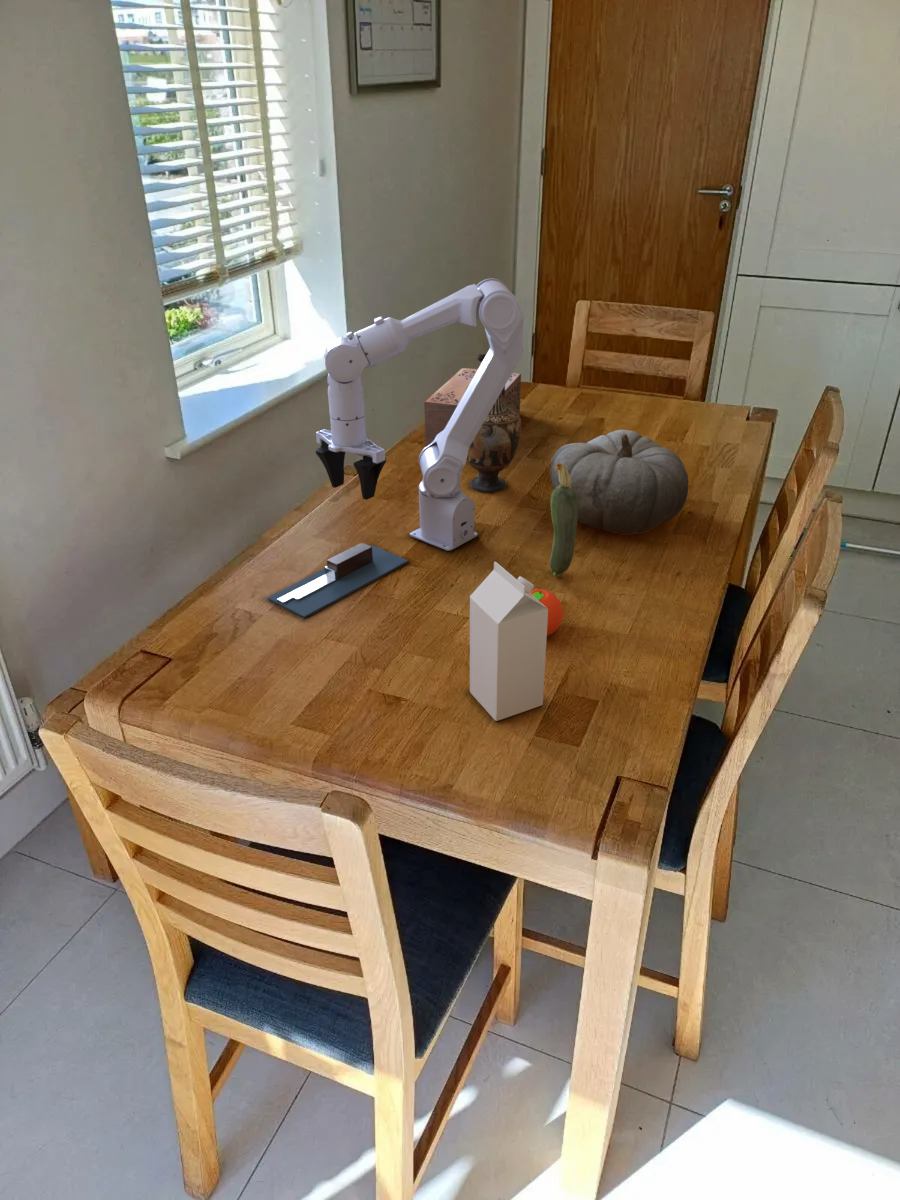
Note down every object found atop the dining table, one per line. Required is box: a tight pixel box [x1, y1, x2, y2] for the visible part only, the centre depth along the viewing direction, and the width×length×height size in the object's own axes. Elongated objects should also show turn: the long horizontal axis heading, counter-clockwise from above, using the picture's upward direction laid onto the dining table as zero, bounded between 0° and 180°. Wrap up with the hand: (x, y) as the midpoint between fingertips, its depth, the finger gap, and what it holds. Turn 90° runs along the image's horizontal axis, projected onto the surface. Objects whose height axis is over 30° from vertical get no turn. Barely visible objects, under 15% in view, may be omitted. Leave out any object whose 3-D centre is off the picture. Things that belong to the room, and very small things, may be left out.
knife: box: [277, 542, 373, 604], centre depth 141 cm, size 19×3×3 cm, turn 139°
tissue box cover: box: [423, 367, 522, 447], centre depth 199 cm, size 26×14×10 cm, turn 161°
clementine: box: [530, 588, 564, 637], centre depth 127 cm, size 8×7×7 cm
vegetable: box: [549, 463, 578, 578], centre depth 137 cm, size 4×4×20 cm
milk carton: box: [469, 561, 548, 722], centre depth 111 cm, size 7×7×19 cm
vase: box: [466, 352, 522, 493], centre depth 167 cm, size 12×12×30 cm
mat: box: [267, 544, 409, 619], centre depth 143 cm, size 9×23×1 cm, turn 139°
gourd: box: [549, 429, 689, 536], centre depth 157 cm, size 25×25×17 cm
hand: (353, 491), depth 150 cm, fingers open, 7 cm apart
